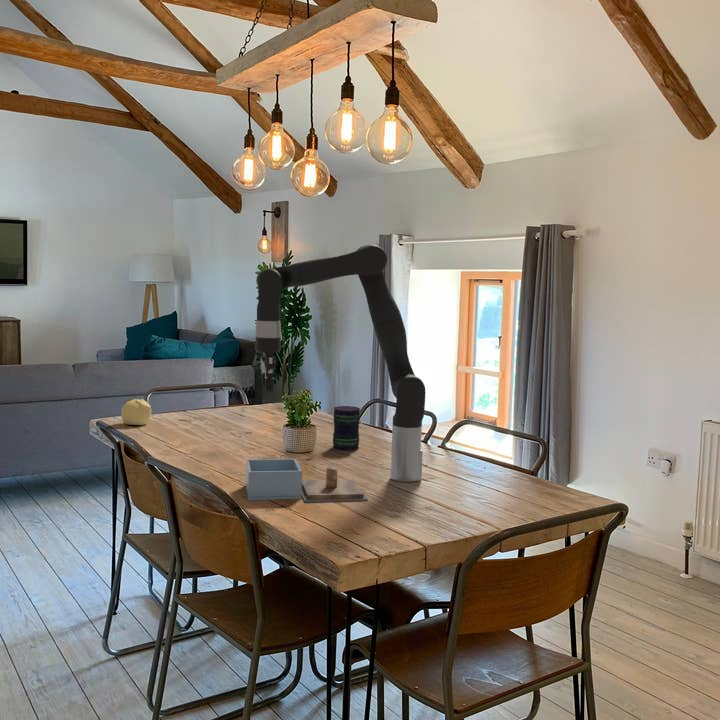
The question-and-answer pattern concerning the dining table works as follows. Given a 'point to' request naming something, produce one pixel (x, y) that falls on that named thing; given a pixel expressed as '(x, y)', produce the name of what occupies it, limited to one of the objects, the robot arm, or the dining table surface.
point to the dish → (273, 479)
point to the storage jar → (346, 428)
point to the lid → (331, 487)
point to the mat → (332, 499)
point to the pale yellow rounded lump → (136, 412)
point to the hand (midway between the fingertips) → (267, 389)
